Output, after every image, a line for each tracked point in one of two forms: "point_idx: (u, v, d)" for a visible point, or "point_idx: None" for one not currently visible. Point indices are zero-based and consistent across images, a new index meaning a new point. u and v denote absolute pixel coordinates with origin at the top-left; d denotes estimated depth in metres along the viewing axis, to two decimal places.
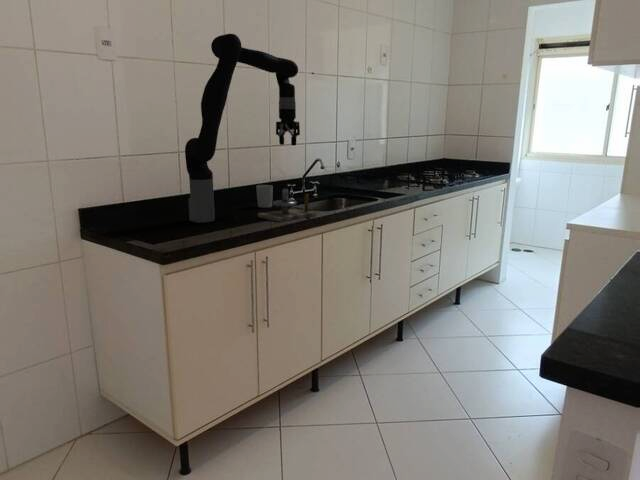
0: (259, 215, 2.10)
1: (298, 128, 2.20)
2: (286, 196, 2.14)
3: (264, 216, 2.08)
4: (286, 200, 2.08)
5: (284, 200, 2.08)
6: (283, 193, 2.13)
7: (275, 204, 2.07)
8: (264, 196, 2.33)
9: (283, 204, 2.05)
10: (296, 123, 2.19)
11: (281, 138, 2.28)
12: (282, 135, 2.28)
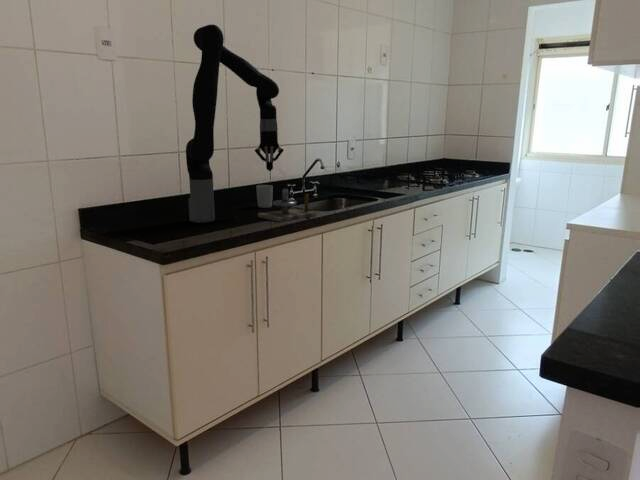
0: (259, 215, 2.10)
1: None
2: (286, 196, 2.14)
3: (264, 216, 2.08)
4: (286, 200, 2.08)
5: (284, 200, 2.08)
6: (283, 193, 2.13)
7: (275, 204, 2.07)
8: (264, 196, 2.33)
9: (283, 204, 2.05)
10: (282, 151, 2.15)
11: (269, 164, 2.16)
12: None
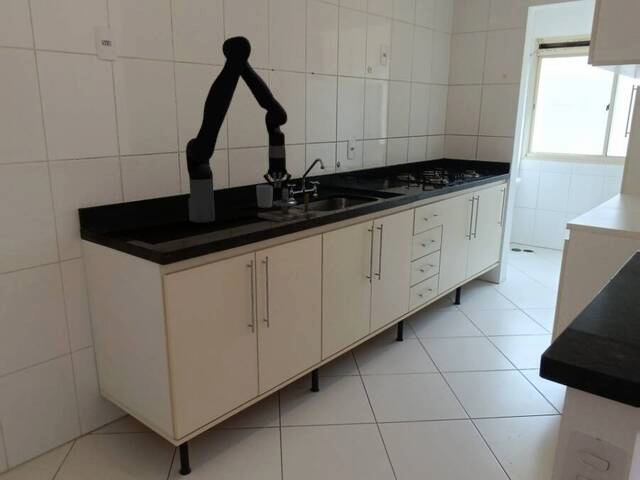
0: (259, 215, 2.10)
1: None
2: (286, 196, 2.14)
3: (264, 216, 2.08)
4: (286, 200, 2.08)
5: (284, 200, 2.08)
6: (283, 193, 2.13)
7: (275, 204, 2.07)
8: (264, 196, 2.33)
9: (283, 204, 2.05)
10: (290, 177, 2.18)
11: None
12: None
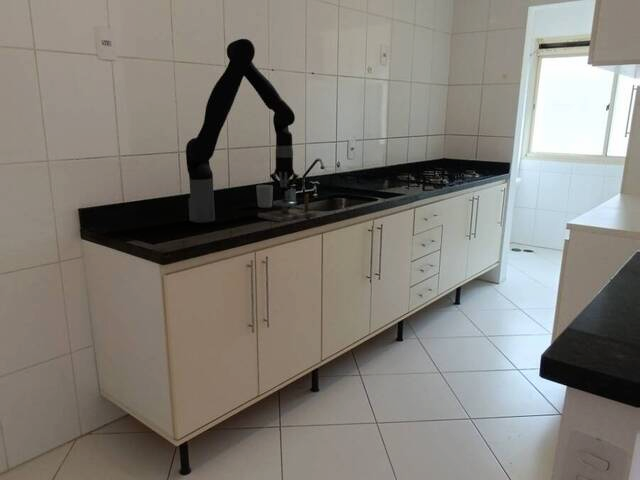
0: (259, 215, 2.10)
1: (294, 181, 2.18)
2: (289, 196, 2.13)
3: (264, 216, 2.08)
4: (285, 200, 2.08)
5: (283, 200, 2.08)
6: (286, 193, 2.13)
7: (274, 204, 2.08)
8: (264, 196, 2.33)
9: (280, 204, 2.05)
10: (296, 177, 2.17)
11: None
12: None
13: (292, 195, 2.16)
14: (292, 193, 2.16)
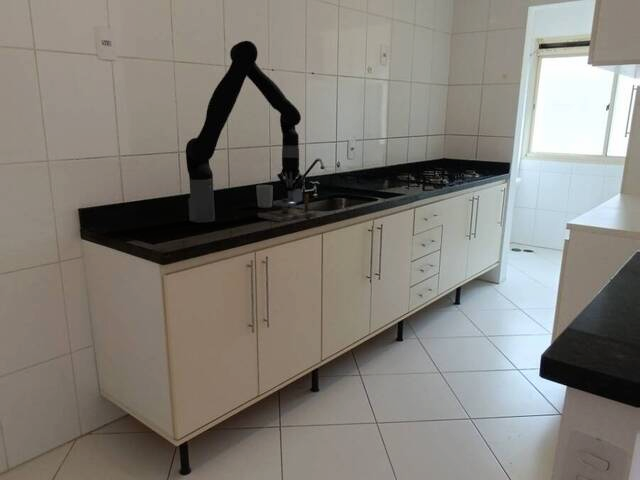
0: (259, 215, 2.10)
1: (300, 181, 2.17)
2: (291, 196, 2.13)
3: (264, 216, 2.08)
4: (285, 200, 2.08)
5: (283, 200, 2.08)
6: (288, 193, 2.13)
7: (273, 203, 2.09)
8: (264, 196, 2.33)
9: (277, 204, 2.06)
10: (301, 178, 2.15)
11: None
12: None
13: (295, 196, 2.15)
14: (296, 194, 2.15)
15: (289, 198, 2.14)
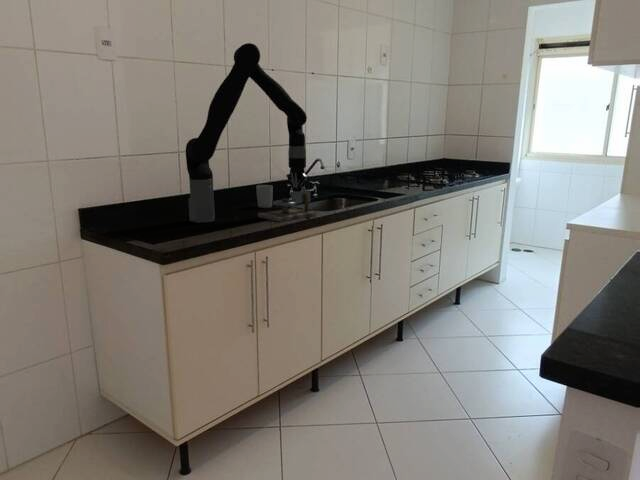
0: (259, 215, 2.10)
1: (305, 182, 2.15)
2: (294, 197, 2.12)
3: (264, 216, 2.08)
4: (283, 200, 2.08)
5: (282, 200, 2.09)
6: (292, 193, 2.12)
7: None
8: (264, 196, 2.33)
9: (274, 203, 2.07)
10: (305, 178, 2.13)
11: None
12: None
13: (299, 196, 2.13)
14: (300, 194, 2.13)
15: (292, 198, 2.13)
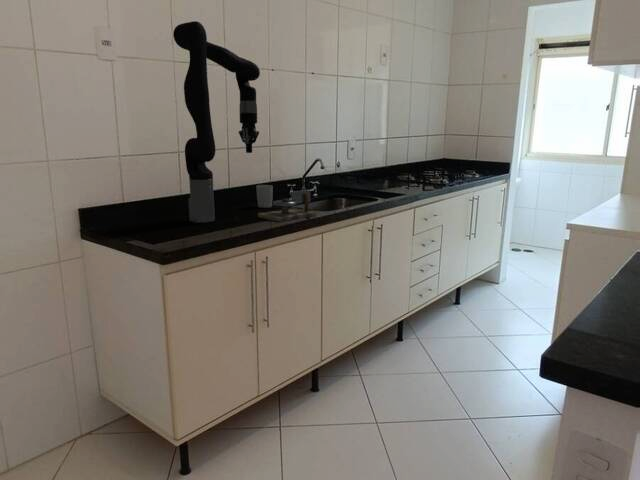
0: (259, 215, 2.10)
1: (255, 137, 2.14)
2: (294, 197, 2.12)
3: (264, 216, 2.08)
4: (283, 200, 2.08)
5: (282, 200, 2.09)
6: (292, 193, 2.12)
7: None
8: (264, 196, 2.33)
9: (274, 203, 2.07)
10: (255, 133, 2.12)
11: None
12: None
13: (299, 196, 2.13)
14: (300, 194, 2.13)
15: (292, 198, 2.13)
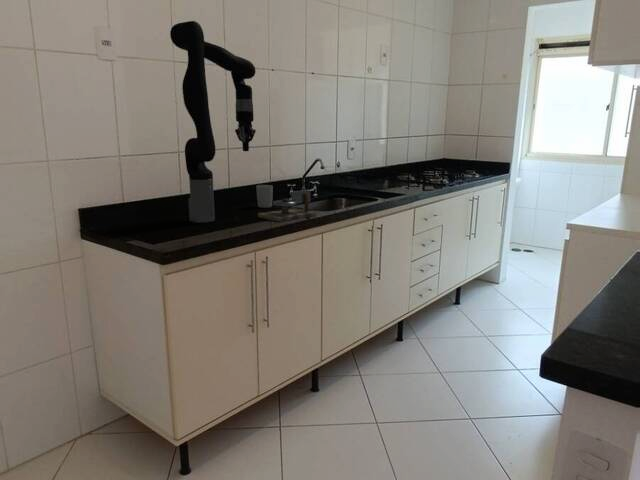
0: (259, 215, 2.10)
1: (252, 136, 2.14)
2: (294, 197, 2.12)
3: (264, 216, 2.08)
4: (283, 200, 2.08)
5: (282, 200, 2.09)
6: (292, 193, 2.12)
7: None
8: (264, 196, 2.33)
9: (274, 203, 2.07)
10: (252, 132, 2.12)
11: None
12: None
13: (299, 196, 2.13)
14: (300, 194, 2.13)
15: (292, 198, 2.13)
